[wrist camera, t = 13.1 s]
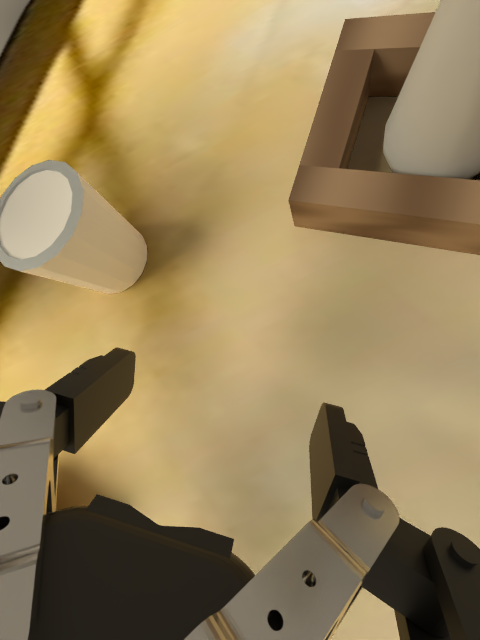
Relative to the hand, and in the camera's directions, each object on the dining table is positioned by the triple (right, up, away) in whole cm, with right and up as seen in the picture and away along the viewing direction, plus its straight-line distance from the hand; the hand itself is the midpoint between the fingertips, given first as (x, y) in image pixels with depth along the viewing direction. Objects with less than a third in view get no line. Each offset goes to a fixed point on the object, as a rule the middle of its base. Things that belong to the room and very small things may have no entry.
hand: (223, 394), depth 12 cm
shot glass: (-9, +8, +11) cm, 16 cm away
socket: (+12, +13, +6) cm, 19 cm away
